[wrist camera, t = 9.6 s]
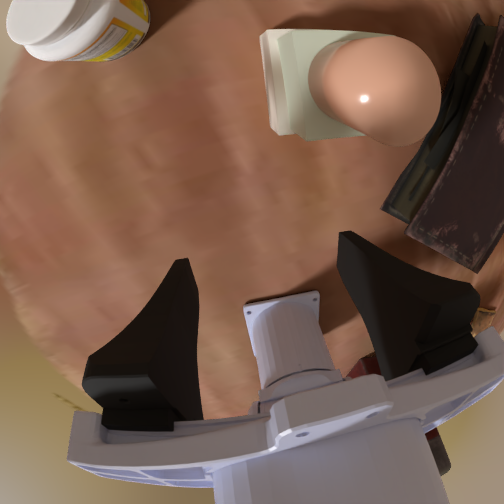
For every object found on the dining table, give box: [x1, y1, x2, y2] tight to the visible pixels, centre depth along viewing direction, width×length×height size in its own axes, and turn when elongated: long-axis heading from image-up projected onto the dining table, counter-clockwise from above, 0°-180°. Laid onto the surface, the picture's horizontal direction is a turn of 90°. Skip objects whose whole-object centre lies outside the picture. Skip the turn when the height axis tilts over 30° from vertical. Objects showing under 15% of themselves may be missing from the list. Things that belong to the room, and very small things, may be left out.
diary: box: [380, 14, 504, 274], centre depth 20 cm, size 19×25×5 cm
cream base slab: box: [260, 29, 322, 135], centre depth 16 cm, size 7×7×4 cm
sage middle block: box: [277, 30, 395, 141], centre depth 13 cm, size 6×6×4 cm
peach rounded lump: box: [308, 36, 441, 147], centre depth 10 cm, size 5×5×4 cm
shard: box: [471, 308, 496, 337], centre depth 41 cm, size 11×8×2 cm
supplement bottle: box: [6, 0, 150, 62], centre depth 9 cm, size 6×6×10 cm
